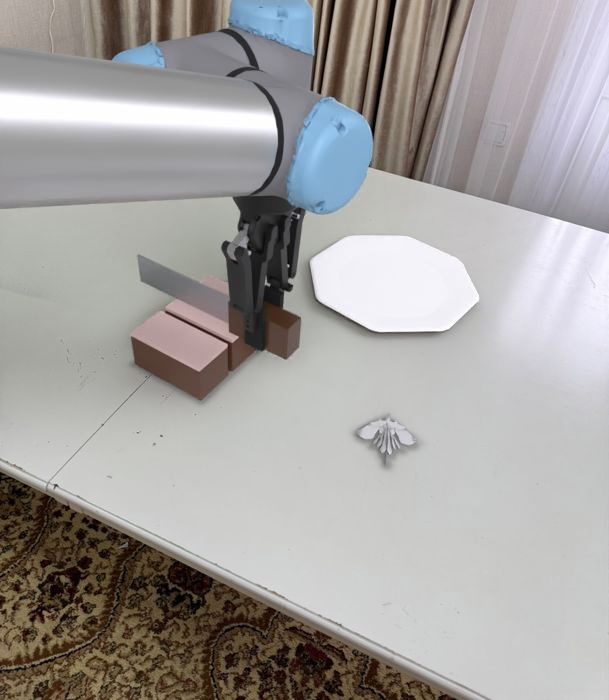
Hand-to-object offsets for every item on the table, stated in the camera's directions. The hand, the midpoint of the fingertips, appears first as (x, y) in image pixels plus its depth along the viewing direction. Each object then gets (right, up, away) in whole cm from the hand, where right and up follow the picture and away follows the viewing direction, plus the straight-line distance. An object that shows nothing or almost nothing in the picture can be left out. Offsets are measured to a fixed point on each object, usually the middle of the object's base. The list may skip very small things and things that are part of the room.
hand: (263, 337), depth 79 cm
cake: (-7, 0, +14) cm, 16 cm away
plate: (+20, +9, +27) cm, 35 cm away
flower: (+16, -14, +1) cm, 21 cm away
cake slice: (-12, -4, +8) cm, 15 cm away
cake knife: (-7, +3, +3) cm, 8 cm away
